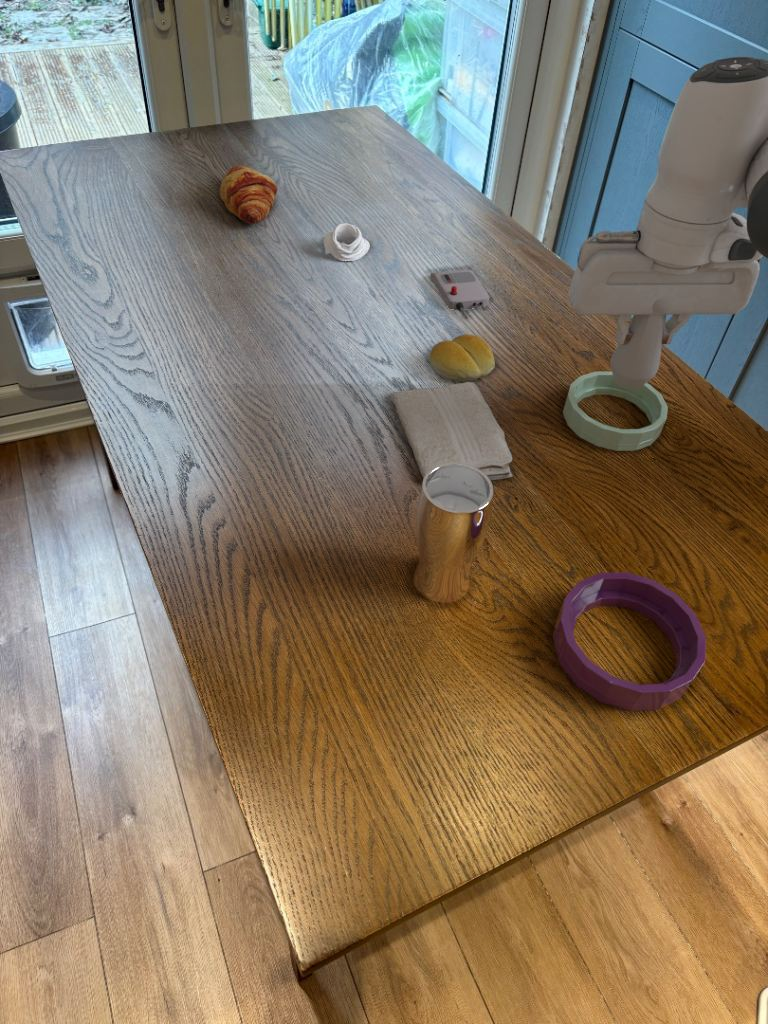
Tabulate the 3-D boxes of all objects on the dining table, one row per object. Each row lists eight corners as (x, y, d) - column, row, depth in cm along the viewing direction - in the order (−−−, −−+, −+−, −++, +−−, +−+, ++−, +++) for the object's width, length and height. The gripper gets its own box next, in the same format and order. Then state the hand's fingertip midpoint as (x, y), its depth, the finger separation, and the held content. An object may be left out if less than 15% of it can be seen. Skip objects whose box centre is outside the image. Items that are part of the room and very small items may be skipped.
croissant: (229, 198, 146) (205, 162, 140) (273, 171, 144) (251, 133, 138) (241, 249, 131) (215, 211, 126) (291, 220, 130) (267, 180, 124)
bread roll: (418, 359, 107) (421, 335, 104) (470, 344, 110) (474, 320, 107) (450, 392, 102) (453, 367, 99) (503, 374, 106) (508, 351, 103)
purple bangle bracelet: (662, 596, 80) (677, 570, 77) (709, 713, 71) (728, 688, 68) (538, 600, 79) (547, 574, 76) (570, 719, 70) (582, 694, 66)
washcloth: (424, 497, 88) (427, 479, 86) (385, 403, 100) (387, 384, 98) (518, 483, 91) (523, 464, 89) (469, 392, 102) (472, 374, 100)
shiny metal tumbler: (420, 553, 82) (434, 452, 71) (480, 573, 81) (504, 473, 70) (398, 600, 78) (409, 500, 67) (461, 622, 76) (484, 523, 65)
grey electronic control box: (464, 268, 125) (466, 252, 123) (497, 320, 115) (501, 303, 113) (426, 272, 124) (428, 255, 122) (457, 324, 114) (459, 307, 112)
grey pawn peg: (657, 394, 92) (693, 300, 83) (611, 393, 92) (641, 299, 82) (645, 366, 96) (678, 273, 87) (601, 365, 96) (629, 272, 86)
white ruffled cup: (364, 246, 130) (366, 218, 127) (374, 262, 126) (376, 233, 122) (318, 247, 128) (320, 218, 125) (327, 263, 124) (328, 233, 120)
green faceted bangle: (640, 394, 104) (649, 371, 101) (670, 456, 96) (681, 432, 93) (552, 395, 103) (558, 371, 100) (574, 457, 95) (582, 433, 92)
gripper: (592, 246, 77) (563, 358, 87) (782, 246, 78) (732, 356, 89) (577, 217, 81) (551, 327, 91) (757, 218, 83) (713, 326, 93)
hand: (642, 341), depth 90 cm, fingers closed on grey pawn peg, 3 cm apart
